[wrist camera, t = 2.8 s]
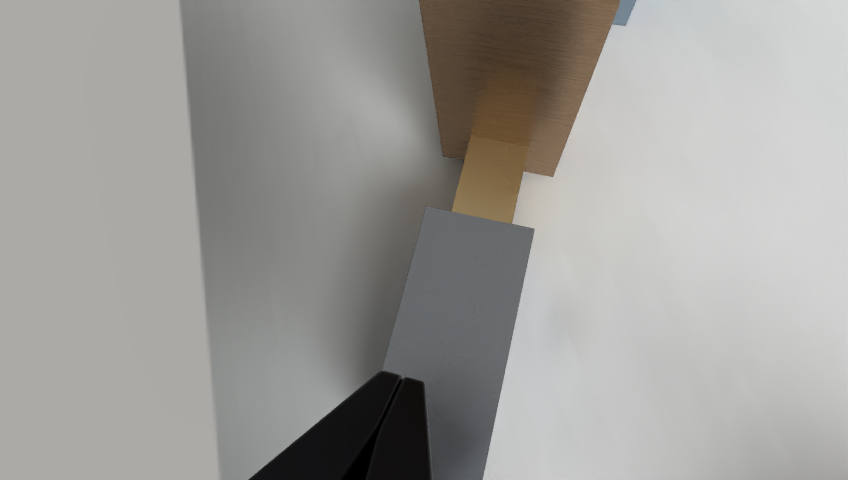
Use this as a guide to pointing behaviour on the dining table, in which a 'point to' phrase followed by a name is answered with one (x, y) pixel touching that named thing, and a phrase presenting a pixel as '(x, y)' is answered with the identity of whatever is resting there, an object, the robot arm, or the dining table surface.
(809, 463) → the dining table surface
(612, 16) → the upright wooden plank
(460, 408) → the outer sleeve
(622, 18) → the blue-grey rectangular block
